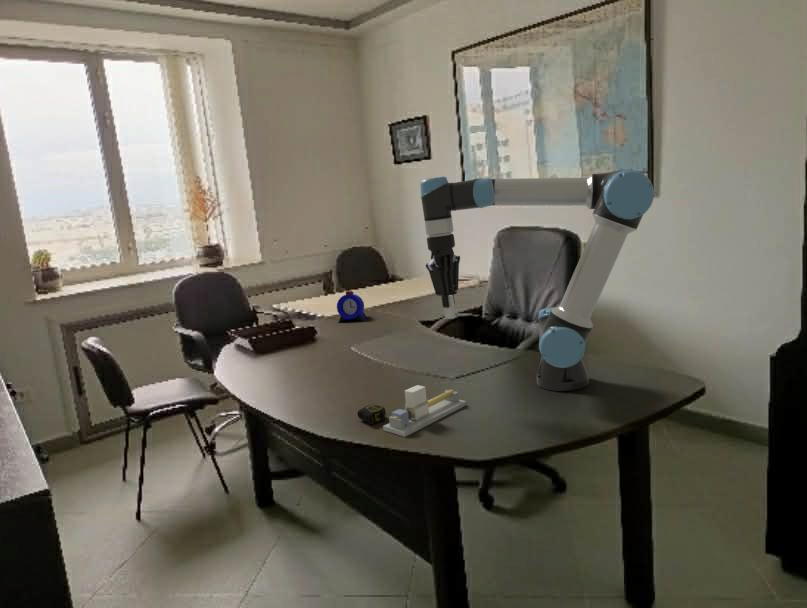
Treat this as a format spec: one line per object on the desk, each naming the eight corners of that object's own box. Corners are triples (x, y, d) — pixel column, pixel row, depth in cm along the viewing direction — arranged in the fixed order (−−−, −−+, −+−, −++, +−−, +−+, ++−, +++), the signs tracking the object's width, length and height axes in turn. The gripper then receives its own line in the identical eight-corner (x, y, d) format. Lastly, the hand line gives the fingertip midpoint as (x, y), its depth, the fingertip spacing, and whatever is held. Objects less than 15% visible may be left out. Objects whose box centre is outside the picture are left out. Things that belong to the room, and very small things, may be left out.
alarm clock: (337, 323, 296) (333, 293, 293) (344, 317, 307) (340, 288, 304) (362, 321, 293) (358, 291, 290) (367, 316, 305) (364, 286, 302)
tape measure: (357, 421, 171) (355, 408, 170) (378, 413, 174) (376, 401, 174) (369, 427, 165) (368, 414, 164) (391, 420, 169) (389, 407, 168)
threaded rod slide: (445, 400, 179) (443, 383, 178) (466, 405, 173) (464, 388, 172) (383, 430, 162) (381, 412, 161) (404, 436, 156) (402, 418, 155)
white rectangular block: (419, 411, 168) (416, 384, 167) (429, 414, 165) (426, 387, 164) (406, 417, 165) (403, 390, 163) (416, 420, 162) (413, 392, 160)
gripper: (443, 231, 175) (453, 311, 179) (414, 238, 166) (425, 323, 170) (464, 230, 170) (474, 312, 174) (435, 237, 161) (446, 324, 165)
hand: (450, 317), depth 172 cm, fingers closed
